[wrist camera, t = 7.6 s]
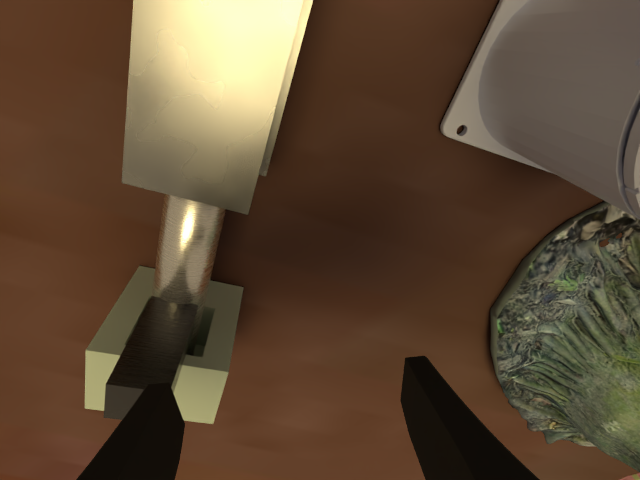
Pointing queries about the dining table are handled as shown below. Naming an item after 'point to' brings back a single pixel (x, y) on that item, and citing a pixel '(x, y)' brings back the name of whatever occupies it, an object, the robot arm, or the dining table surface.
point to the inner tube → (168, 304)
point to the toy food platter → (632, 477)
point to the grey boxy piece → (208, 94)
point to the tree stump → (576, 334)
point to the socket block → (198, 370)
